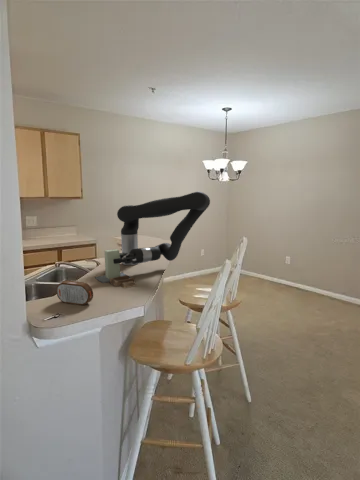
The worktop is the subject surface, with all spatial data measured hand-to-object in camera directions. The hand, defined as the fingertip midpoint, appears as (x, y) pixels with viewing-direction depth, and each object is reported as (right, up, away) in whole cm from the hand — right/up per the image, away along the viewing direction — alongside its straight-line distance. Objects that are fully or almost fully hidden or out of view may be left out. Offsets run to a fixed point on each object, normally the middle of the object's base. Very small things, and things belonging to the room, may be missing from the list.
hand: (110, 259), depth 150 cm
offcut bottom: (+10, -12, -10) cm, 18 cm away
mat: (+1, -9, +2) cm, 9 cm away
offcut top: (+10, -11, -10) cm, 18 cm away
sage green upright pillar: (+1, -8, +2) cm, 9 cm away
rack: (+7, -10, -5) cm, 13 cm away
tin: (-7, -15, -31) cm, 35 cm away
